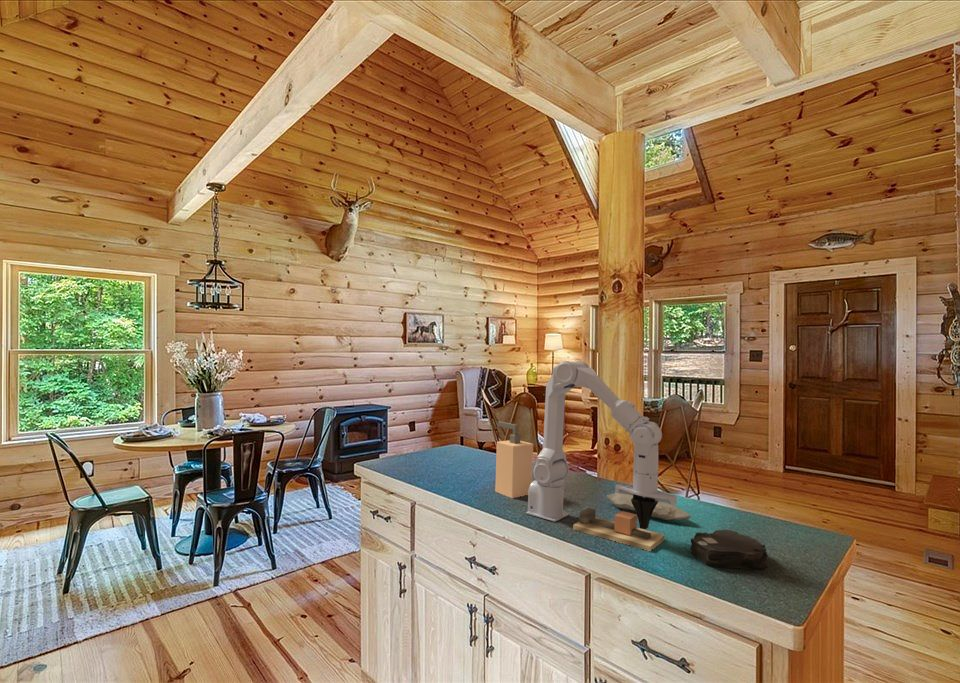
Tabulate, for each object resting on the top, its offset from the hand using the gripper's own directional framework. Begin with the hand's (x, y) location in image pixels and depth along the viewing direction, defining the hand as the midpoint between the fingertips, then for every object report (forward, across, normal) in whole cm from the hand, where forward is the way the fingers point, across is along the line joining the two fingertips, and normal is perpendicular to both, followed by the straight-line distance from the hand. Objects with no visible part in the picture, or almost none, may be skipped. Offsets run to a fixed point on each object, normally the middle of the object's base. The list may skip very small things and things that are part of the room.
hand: (644, 527), depth 117 cm
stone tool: (+4, +7, -22) cm, 23 cm away
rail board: (+3, +7, 0) cm, 7 cm away
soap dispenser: (+4, +49, -11) cm, 50 cm away
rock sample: (+4, -18, -4) cm, 19 cm away
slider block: (+2, +5, 0) cm, 5 cm away
